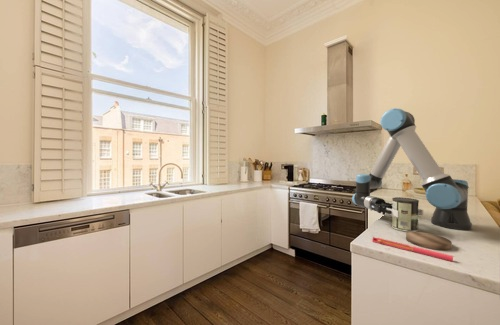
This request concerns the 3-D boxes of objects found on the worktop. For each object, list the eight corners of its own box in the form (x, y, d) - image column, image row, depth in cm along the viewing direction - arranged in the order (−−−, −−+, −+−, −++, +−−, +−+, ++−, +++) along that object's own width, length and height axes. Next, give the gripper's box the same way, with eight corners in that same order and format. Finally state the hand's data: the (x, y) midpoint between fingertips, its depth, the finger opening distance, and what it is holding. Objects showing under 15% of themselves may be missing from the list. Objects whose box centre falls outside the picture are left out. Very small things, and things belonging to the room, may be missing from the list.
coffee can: (411, 226, 109) (411, 197, 108) (422, 233, 99) (423, 201, 98) (387, 224, 111) (388, 196, 110) (397, 231, 101) (398, 200, 100)
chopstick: (374, 242, 90) (371, 241, 87) (375, 237, 91) (371, 236, 87) (454, 262, 73) (453, 262, 70) (454, 256, 73) (454, 256, 70)
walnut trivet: (427, 235, 95) (427, 231, 95) (462, 249, 81) (462, 244, 81) (397, 236, 93) (397, 232, 93) (427, 250, 79) (428, 245, 79)
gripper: (393, 209, 125) (432, 220, 104) (355, 211, 120) (387, 223, 99) (394, 196, 125) (432, 204, 104) (355, 197, 119) (388, 206, 99)
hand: (410, 213), depth 101 cm, fingers open, 13 cm apart
